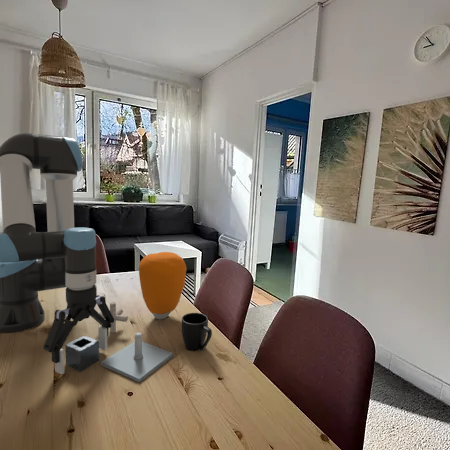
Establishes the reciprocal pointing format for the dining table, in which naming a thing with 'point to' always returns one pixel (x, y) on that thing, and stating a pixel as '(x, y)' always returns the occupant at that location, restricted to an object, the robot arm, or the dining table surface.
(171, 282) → the orange egg-shaped ornament
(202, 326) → the mug
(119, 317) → the light grey toy jack
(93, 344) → the collar
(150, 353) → the post block
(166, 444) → the dining table surface
